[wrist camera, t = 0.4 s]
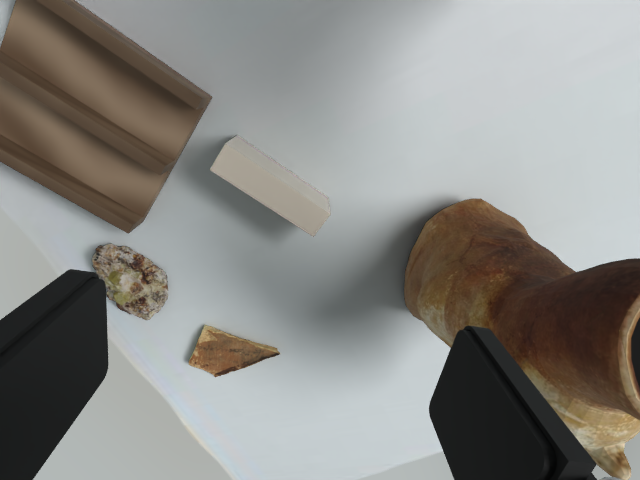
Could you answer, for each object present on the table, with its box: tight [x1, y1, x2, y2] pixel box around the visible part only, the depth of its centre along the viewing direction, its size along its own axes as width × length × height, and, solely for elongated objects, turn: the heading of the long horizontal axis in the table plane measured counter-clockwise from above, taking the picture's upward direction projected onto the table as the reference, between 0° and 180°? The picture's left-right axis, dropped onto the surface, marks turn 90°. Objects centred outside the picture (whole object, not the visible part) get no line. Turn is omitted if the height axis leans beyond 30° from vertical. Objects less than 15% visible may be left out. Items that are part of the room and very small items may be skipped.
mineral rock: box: [92, 244, 168, 320], centre depth 44 cm, size 11×4×8 cm
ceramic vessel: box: [404, 199, 640, 480], centre depth 30 cm, size 16×22×30 cm
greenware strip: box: [210, 135, 331, 237], centre depth 38 cm, size 3×12×6 cm, turn 55°
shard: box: [189, 325, 280, 377], centre depth 50 cm, size 11×8×2 cm
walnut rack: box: [0, 0, 212, 233], centre depth 36 cm, size 17×18×4 cm
